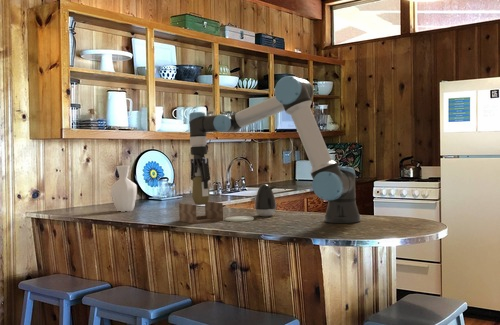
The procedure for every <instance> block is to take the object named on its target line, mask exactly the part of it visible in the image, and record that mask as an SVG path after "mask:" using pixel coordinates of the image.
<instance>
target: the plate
mask: <svg viewBox="0 0 500 325" xmlns="http://www.w3.org/2000/svg"><path fill="white" fill-rule="evenodd" d="M229 221H230V223H233V222H234V223H235V222H236V223H241V222H243V223H244V222H250V221H255V217H253V216H249V215H247V216H243V215H242V216H241V215H239V216H228V217H225V222H229Z"/></svg>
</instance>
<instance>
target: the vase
mask: <svg viewBox="0 0 500 325" xmlns="http://www.w3.org/2000/svg"><path fill="white" fill-rule="evenodd" d="M115 167H116V170H117V173H118V176H119V179H117V180H116V181H115V182H114V183H112V185H111V186H110V192H111V193H110V194H111V197H112V201H113V204H114V207H115V208H116V210H117V211H116V212H118V211H121V212H120V213H124V212H125V211H127V212H133V211H134V209H135V204H136V201H137V195H138V185H137V184H136V183H135V182H134V181H132V180H130V178H128V176H129V171H130V167H131V165H116V166H115Z"/></svg>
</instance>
